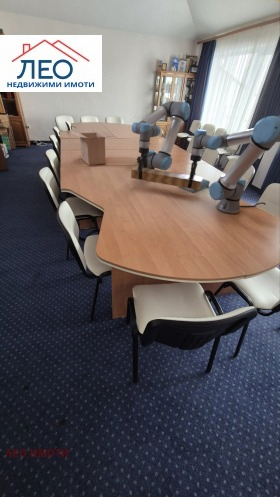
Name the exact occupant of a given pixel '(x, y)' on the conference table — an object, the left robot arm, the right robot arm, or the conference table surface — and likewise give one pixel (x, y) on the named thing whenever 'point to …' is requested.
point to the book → (203, 185)
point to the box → (92, 146)
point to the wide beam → (167, 178)
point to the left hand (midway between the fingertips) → (142, 177)
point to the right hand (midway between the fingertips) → (190, 185)
